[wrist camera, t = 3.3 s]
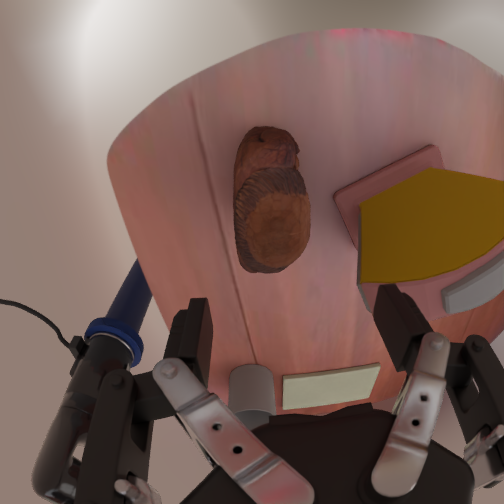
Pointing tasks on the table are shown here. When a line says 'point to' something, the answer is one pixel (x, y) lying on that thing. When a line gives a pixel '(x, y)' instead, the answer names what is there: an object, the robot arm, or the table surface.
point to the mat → (329, 386)
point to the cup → (252, 395)
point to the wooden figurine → (269, 201)
